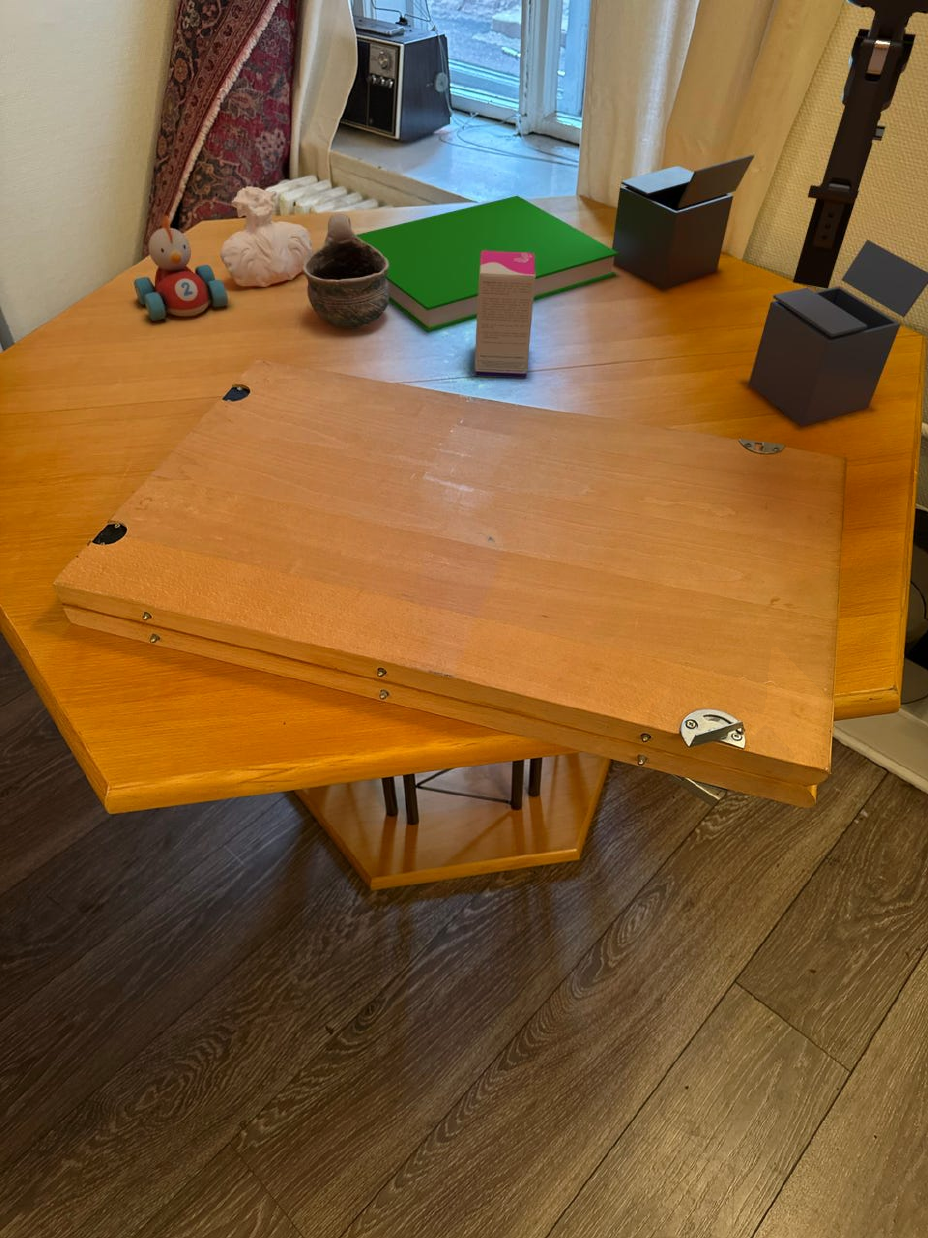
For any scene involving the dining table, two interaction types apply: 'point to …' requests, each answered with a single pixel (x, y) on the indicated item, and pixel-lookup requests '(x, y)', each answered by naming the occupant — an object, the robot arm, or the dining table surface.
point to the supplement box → (504, 313)
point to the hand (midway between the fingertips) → (821, 251)
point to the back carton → (668, 229)
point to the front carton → (821, 353)
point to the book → (450, 257)
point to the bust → (264, 243)
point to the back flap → (715, 181)
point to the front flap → (886, 278)
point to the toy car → (177, 279)
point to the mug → (346, 277)
